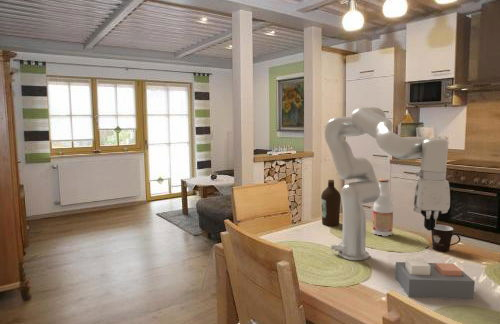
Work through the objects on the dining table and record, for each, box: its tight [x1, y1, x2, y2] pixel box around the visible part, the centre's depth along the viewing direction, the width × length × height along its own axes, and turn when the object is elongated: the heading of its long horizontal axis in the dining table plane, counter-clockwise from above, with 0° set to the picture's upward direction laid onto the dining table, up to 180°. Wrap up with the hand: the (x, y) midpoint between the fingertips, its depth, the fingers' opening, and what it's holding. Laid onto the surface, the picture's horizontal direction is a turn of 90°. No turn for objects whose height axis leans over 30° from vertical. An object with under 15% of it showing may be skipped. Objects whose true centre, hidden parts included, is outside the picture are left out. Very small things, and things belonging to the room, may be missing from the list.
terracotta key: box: [434, 262, 463, 276], centre depth 118 cm, size 6×6×4 cm
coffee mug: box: [430, 224, 461, 253], centre depth 152 cm, size 12×9×10 cm
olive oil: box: [320, 179, 342, 227], centre depth 194 cm, size 11×11×25 cm
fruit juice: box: [372, 178, 394, 237], centre depth 175 cm, size 9×9×28 cm
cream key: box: [405, 258, 430, 275], centre depth 119 cm, size 6×6×4 cm
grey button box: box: [394, 261, 475, 300], centre depth 119 cm, size 20×14×6 cm
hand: (429, 229), depth 117 cm, fingers closed
